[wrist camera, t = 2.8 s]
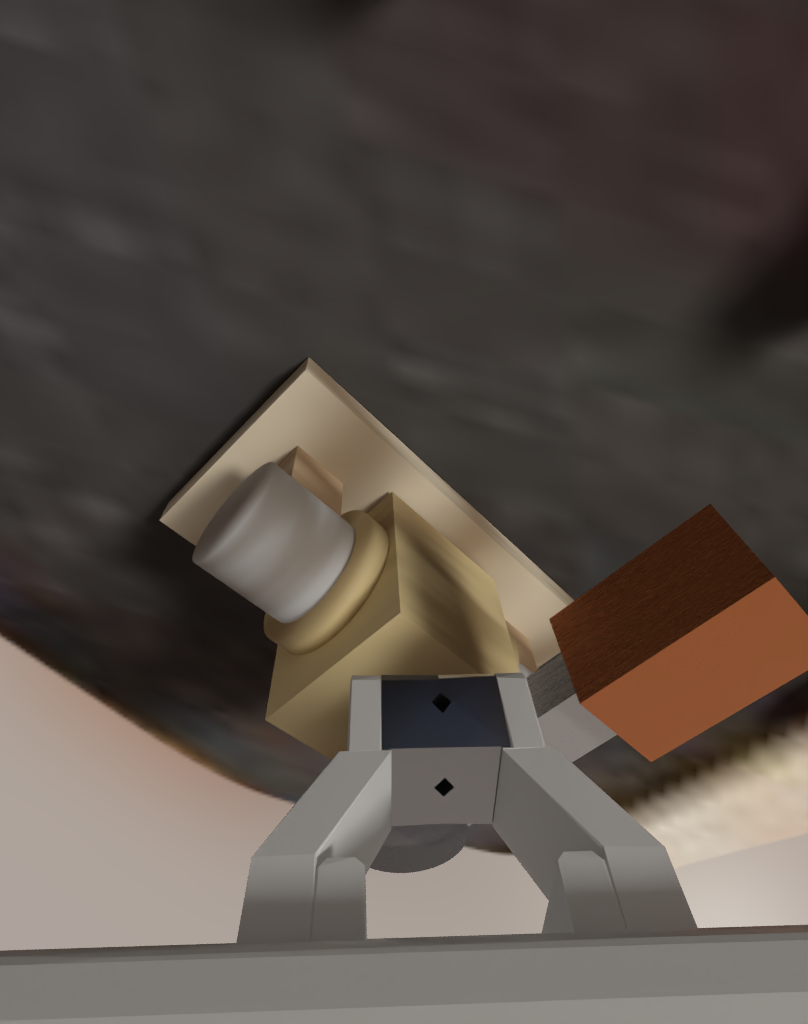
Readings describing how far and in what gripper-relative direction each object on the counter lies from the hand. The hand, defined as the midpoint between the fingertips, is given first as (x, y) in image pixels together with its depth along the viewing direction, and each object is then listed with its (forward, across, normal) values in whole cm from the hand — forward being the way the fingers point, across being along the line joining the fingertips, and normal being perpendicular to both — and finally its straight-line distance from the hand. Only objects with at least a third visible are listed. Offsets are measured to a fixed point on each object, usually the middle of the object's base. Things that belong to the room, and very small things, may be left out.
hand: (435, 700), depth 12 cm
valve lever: (+5, -3, +5) cm, 8 cm away
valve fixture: (+17, 0, +9) cm, 19 cm away
